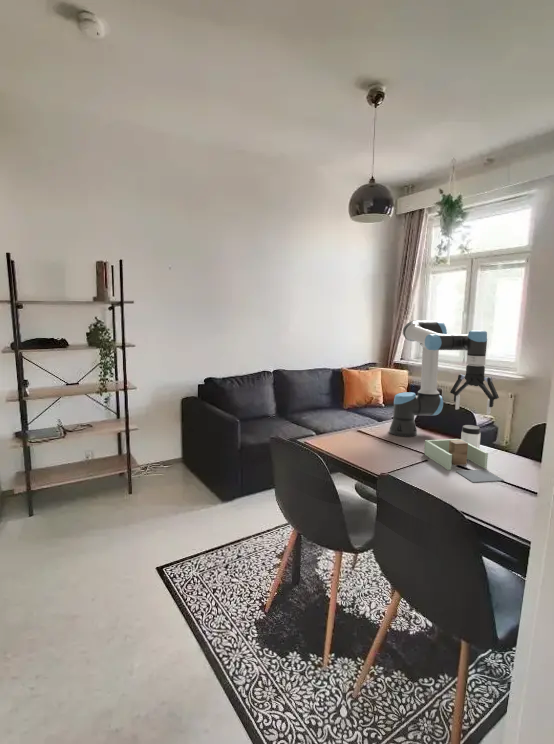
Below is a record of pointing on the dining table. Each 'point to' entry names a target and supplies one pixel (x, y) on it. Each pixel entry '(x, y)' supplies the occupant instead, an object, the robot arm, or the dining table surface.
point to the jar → (471, 435)
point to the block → (458, 452)
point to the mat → (479, 476)
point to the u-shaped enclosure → (441, 455)
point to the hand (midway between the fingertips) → (472, 411)
